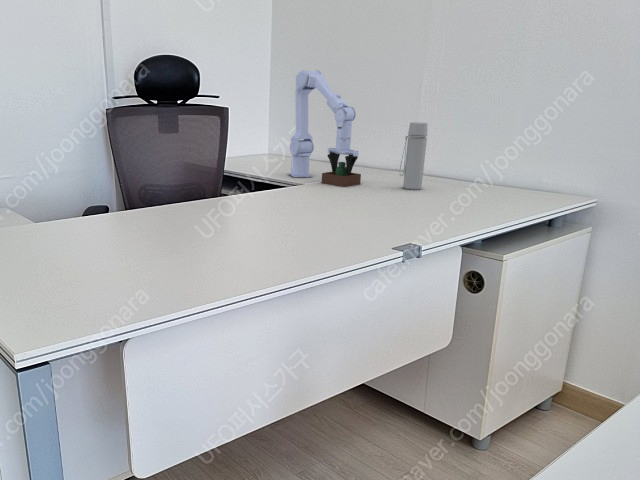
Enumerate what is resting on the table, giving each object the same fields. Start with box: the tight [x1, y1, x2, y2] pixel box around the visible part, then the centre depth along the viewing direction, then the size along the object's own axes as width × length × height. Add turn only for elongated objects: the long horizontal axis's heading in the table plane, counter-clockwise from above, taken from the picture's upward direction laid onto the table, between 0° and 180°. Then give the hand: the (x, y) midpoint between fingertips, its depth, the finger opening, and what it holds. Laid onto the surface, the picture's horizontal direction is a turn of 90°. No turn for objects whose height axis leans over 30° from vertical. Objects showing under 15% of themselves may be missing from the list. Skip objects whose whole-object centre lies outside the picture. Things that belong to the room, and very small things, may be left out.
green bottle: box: [336, 161, 347, 176], centre depth 244 cm, size 5×5×8 cm
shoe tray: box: [321, 171, 362, 188], centre depth 245 cm, size 12×10×4 cm
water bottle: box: [399, 121, 429, 191], centre depth 230 cm, size 9×8×25 cm
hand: (341, 172), depth 244 cm, fingers open, 7 cm apart
